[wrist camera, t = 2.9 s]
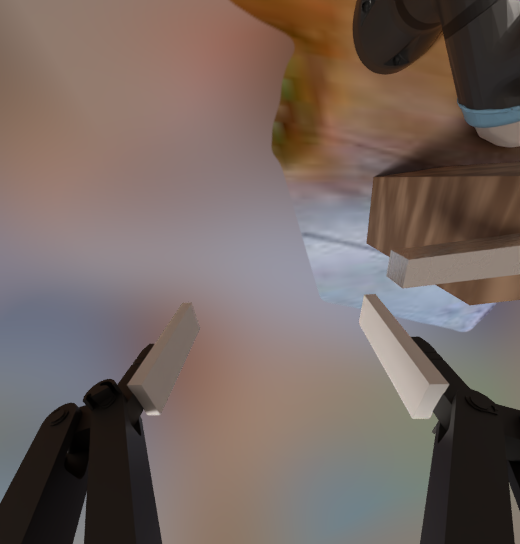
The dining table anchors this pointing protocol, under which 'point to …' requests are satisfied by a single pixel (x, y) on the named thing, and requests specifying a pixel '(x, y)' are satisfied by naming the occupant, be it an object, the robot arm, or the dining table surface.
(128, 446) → the robot arm
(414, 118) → the dining table surface
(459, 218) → the walnut stand
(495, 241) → the metal bar
